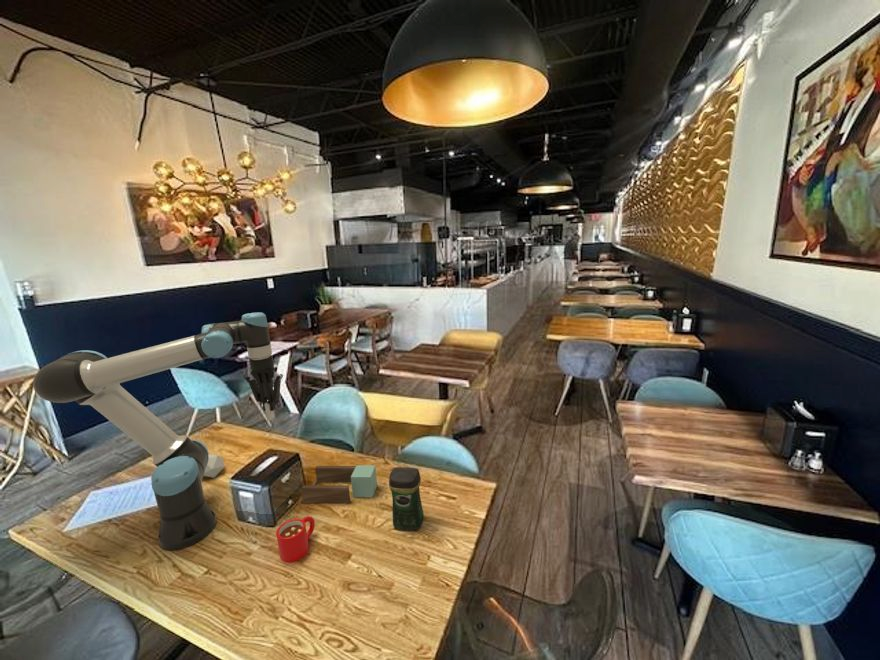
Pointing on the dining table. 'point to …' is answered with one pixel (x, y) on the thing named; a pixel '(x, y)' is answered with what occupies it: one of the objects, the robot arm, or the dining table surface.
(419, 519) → the coffee jar
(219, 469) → the die
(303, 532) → the mug
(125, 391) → the robot arm
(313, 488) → the dark wooden parallel walls
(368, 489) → the block
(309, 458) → the dining table surface
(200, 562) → the dining table surface
